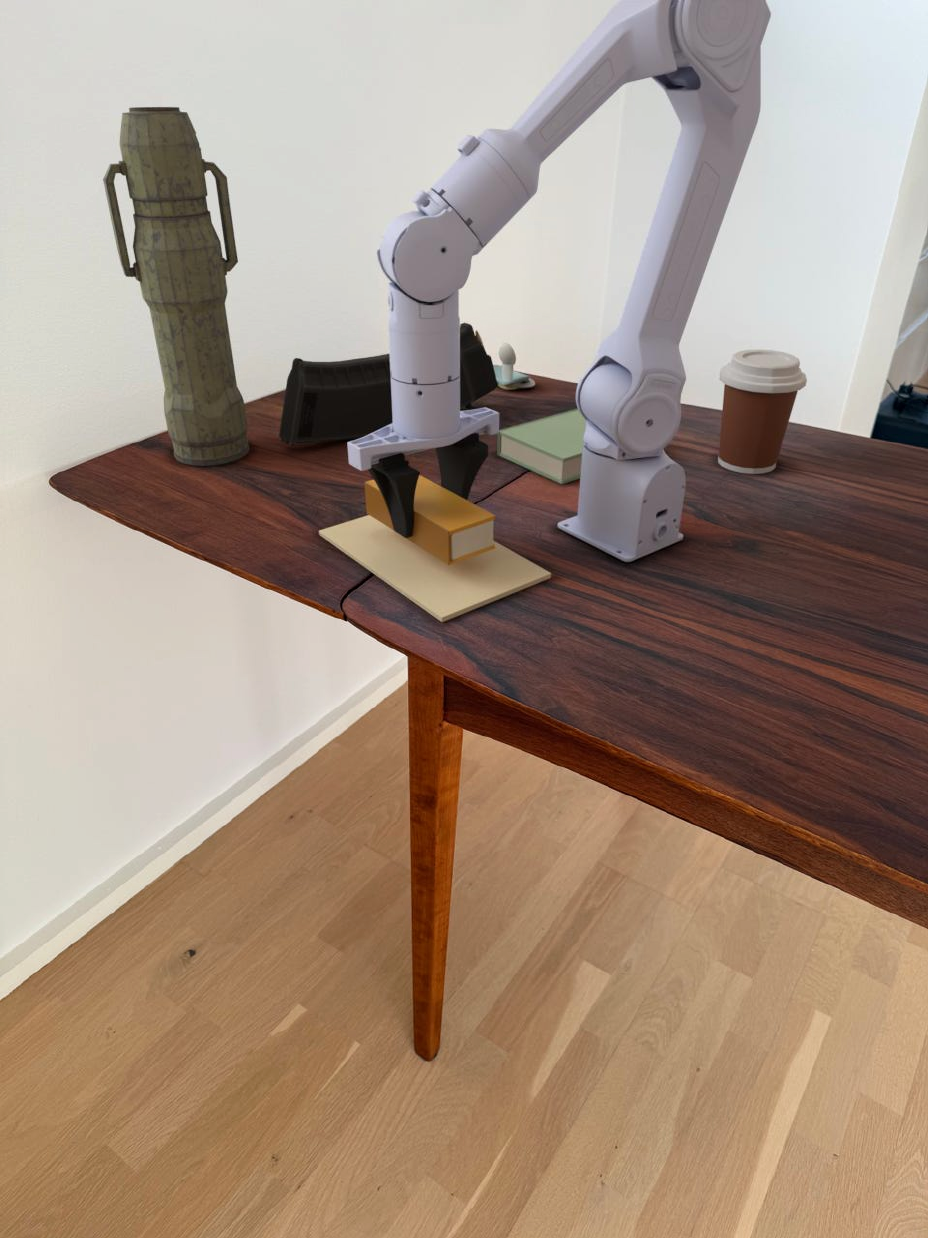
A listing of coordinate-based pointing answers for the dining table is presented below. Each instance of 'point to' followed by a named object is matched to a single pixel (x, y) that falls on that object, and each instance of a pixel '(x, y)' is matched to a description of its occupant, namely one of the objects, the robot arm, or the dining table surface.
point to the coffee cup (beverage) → (757, 408)
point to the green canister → (182, 279)
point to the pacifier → (510, 371)
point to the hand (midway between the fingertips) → (428, 524)
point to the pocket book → (440, 521)
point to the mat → (434, 569)
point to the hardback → (547, 445)
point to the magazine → (364, 393)
